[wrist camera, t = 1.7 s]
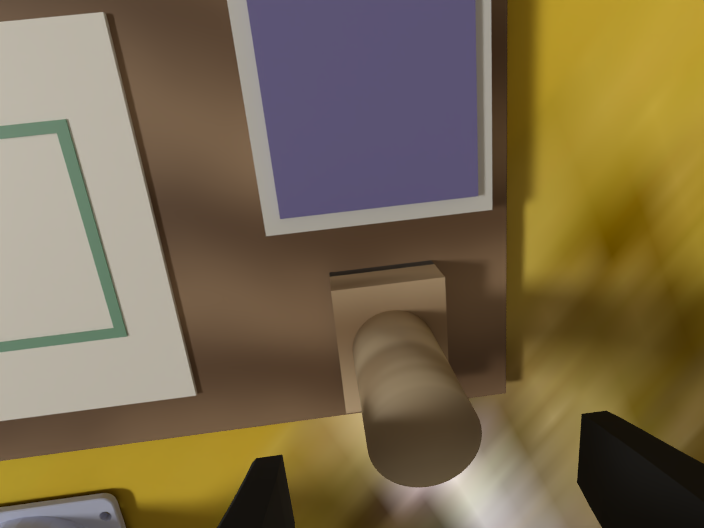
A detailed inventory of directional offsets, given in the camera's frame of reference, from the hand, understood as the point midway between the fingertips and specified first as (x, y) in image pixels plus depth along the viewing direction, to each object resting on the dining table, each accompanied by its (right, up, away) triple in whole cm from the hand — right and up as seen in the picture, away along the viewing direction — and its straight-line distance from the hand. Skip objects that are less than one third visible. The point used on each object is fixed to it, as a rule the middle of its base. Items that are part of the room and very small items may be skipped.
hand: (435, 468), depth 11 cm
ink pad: (-2, +11, +5) cm, 12 cm away
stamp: (-1, +2, +8) cm, 8 cm away
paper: (-15, +5, +5) cm, 17 cm away
